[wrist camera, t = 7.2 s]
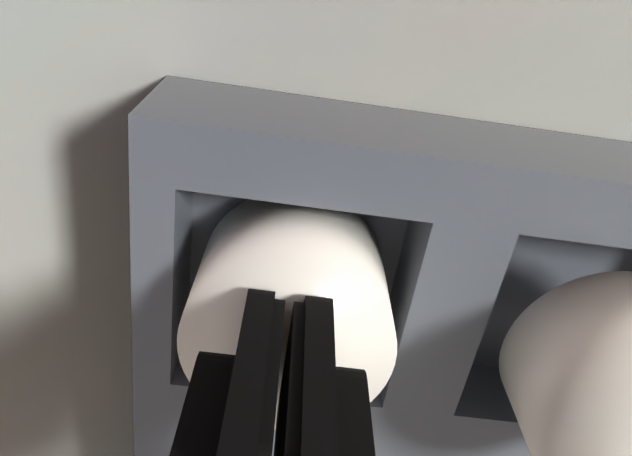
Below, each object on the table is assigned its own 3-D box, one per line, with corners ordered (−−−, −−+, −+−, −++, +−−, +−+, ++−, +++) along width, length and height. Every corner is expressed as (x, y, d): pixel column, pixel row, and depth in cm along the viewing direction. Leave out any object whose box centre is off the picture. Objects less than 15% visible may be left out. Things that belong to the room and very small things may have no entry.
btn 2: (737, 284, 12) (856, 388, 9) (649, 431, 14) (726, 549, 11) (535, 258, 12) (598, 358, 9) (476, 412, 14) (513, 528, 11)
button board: (738, 157, 14) (836, 212, 11) (530, 548, 21) (559, 636, 19) (166, 75, 13) (127, 114, 10) (159, 512, 21) (135, 599, 18)
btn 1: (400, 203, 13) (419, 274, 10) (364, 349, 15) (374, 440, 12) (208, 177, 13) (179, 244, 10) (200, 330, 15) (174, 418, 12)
